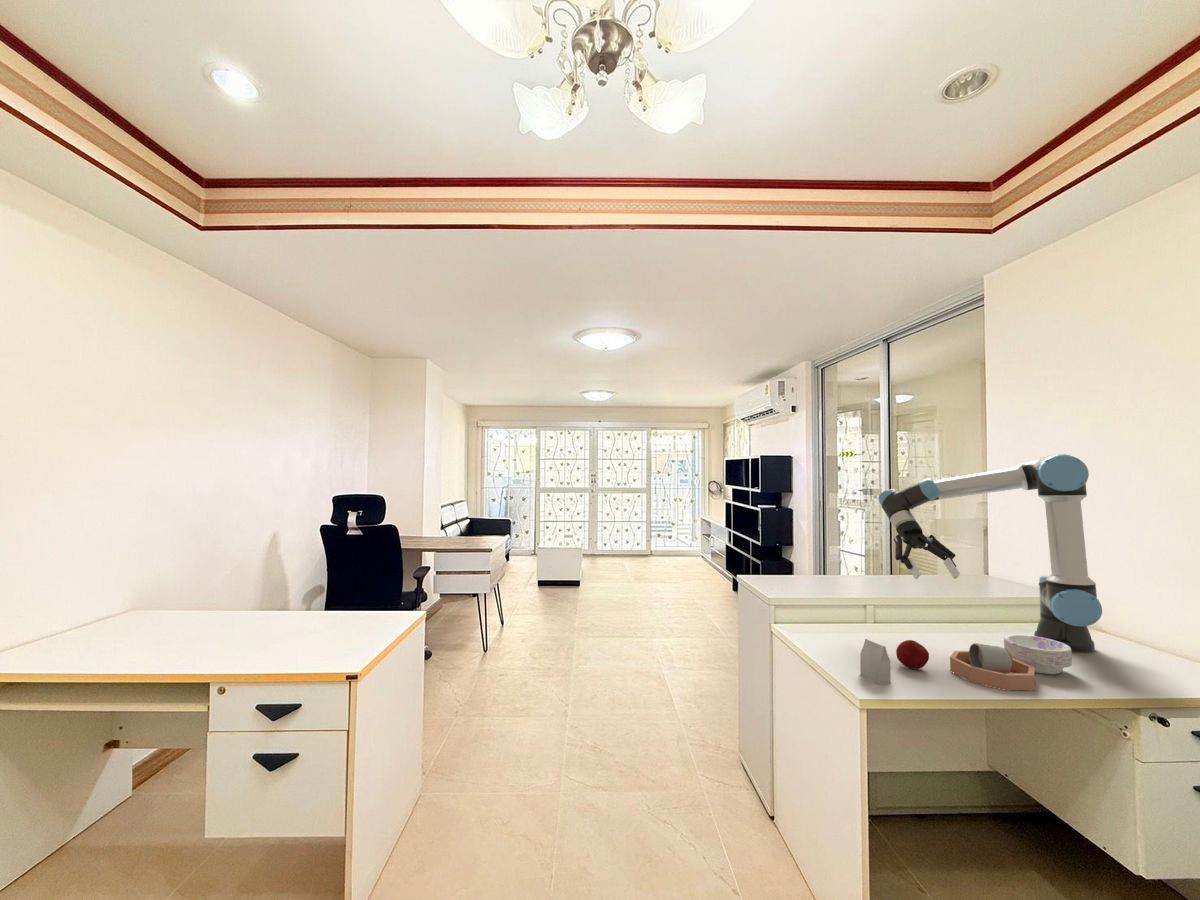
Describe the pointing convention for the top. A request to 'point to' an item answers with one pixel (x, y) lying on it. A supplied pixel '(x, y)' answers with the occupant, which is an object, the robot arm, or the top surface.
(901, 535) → the robot arm
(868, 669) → the tea bag
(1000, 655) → the ceramic mug
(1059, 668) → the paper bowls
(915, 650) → the apple
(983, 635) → the top surface
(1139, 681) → the top surface
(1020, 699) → the top surface
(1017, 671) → the terracotta bowl
